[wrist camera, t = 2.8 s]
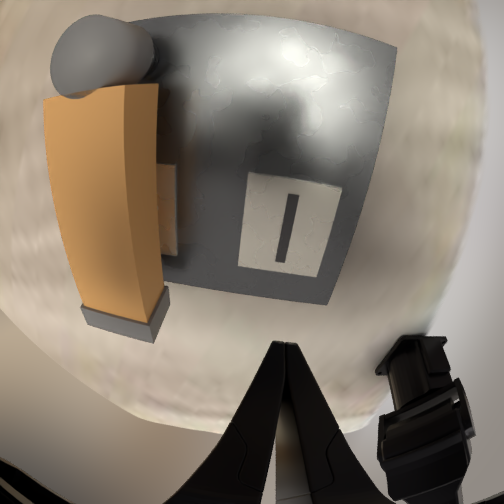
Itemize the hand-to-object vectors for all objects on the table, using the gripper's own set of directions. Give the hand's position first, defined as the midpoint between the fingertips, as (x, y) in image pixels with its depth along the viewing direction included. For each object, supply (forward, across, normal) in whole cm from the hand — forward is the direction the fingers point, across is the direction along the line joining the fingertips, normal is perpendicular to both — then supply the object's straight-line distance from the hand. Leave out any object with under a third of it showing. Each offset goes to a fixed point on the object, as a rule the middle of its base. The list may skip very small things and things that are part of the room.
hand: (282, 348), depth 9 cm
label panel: (+10, +4, -3) cm, 11 cm away
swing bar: (+6, +9, -3) cm, 11 cm away
